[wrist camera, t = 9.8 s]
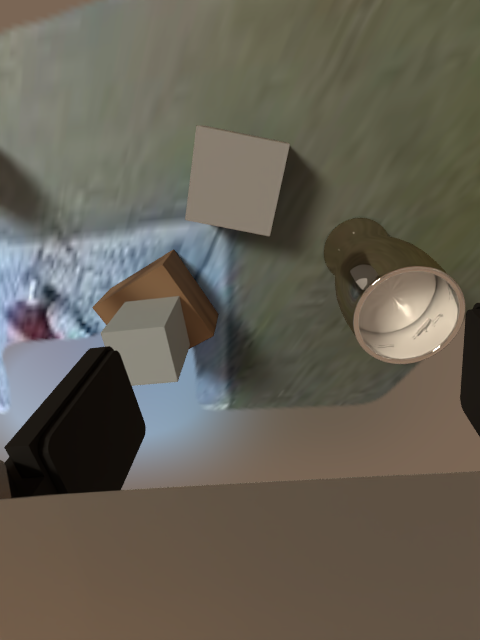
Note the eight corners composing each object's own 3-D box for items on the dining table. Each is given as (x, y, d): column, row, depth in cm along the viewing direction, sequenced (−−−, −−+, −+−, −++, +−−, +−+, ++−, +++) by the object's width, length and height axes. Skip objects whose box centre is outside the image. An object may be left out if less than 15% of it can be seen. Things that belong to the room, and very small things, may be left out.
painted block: (179, 295, 35) (164, 326, 30) (189, 344, 37) (177, 381, 32) (125, 301, 36) (100, 333, 30) (138, 349, 38) (118, 386, 33)
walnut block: (174, 248, 39) (162, 264, 34) (218, 313, 41) (213, 335, 37) (111, 287, 41) (92, 307, 36) (157, 346, 43) (145, 372, 39)
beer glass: (407, 226, 36) (493, 284, 23) (373, 293, 39) (431, 380, 26) (337, 201, 36) (382, 246, 22) (307, 271, 39) (331, 348, 25)
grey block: (286, 142, 34) (289, 144, 29) (268, 223, 37) (269, 236, 33) (205, 125, 34) (196, 125, 29) (194, 208, 37) (185, 219, 32)
